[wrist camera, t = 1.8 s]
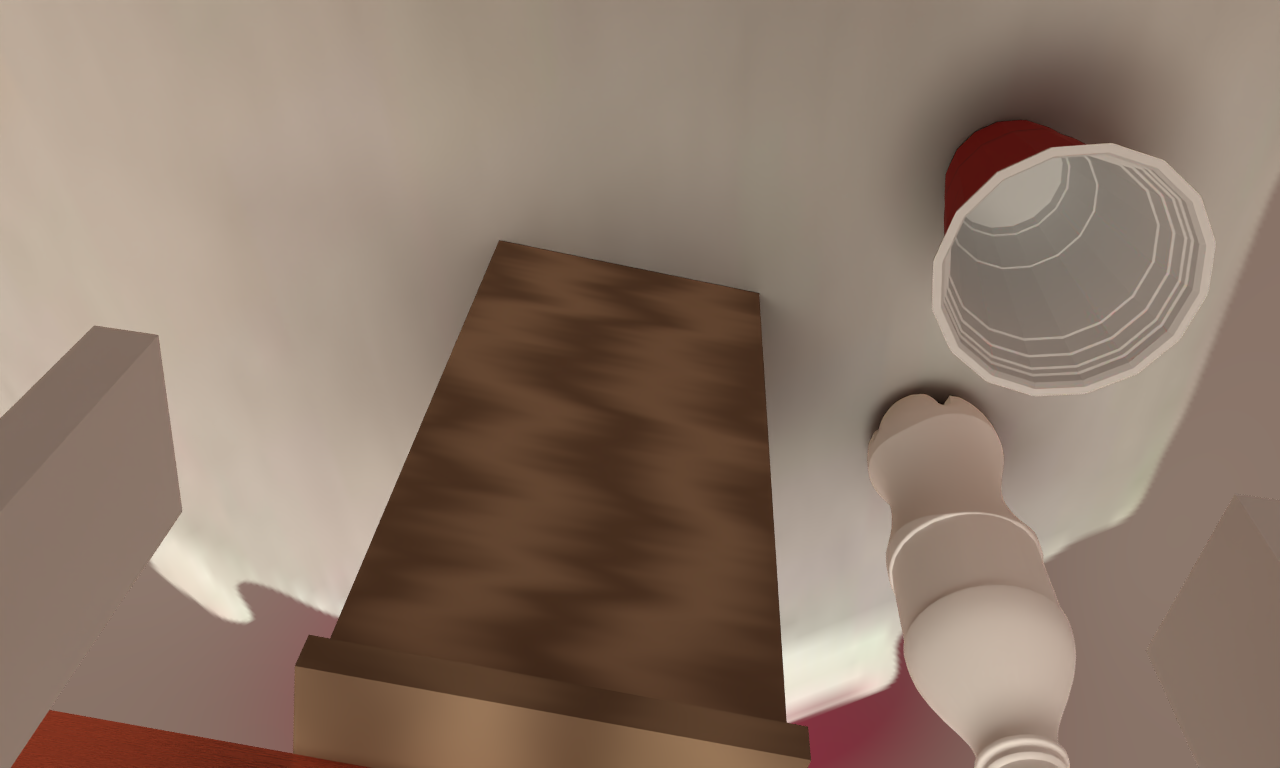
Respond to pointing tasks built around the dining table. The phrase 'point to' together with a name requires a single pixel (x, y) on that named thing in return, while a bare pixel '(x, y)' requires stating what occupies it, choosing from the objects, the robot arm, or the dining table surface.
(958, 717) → the water bottle
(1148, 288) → the plastic cup
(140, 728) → the lever
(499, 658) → the stand
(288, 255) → the dining table surface
